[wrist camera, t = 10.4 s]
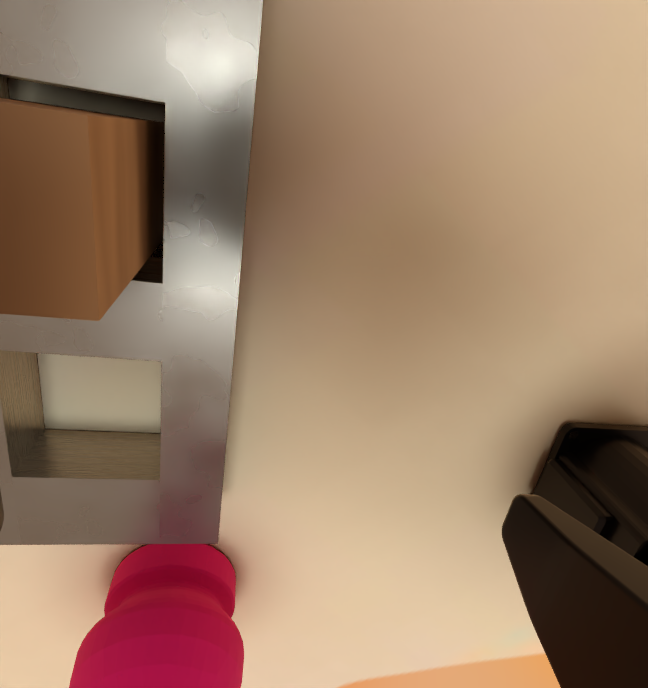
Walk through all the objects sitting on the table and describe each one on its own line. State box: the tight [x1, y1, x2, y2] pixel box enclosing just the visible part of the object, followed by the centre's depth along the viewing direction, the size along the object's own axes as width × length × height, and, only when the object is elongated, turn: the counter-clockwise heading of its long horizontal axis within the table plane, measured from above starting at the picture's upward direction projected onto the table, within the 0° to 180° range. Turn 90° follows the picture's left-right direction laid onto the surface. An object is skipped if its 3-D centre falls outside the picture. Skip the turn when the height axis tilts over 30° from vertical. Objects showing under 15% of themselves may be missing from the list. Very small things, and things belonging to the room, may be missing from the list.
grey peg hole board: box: [0, 0, 263, 545], centre depth 14 cm, size 10×28×3 cm, turn 171°
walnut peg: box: [0, 98, 163, 321], centre depth 12 cm, size 4×4×8 cm
